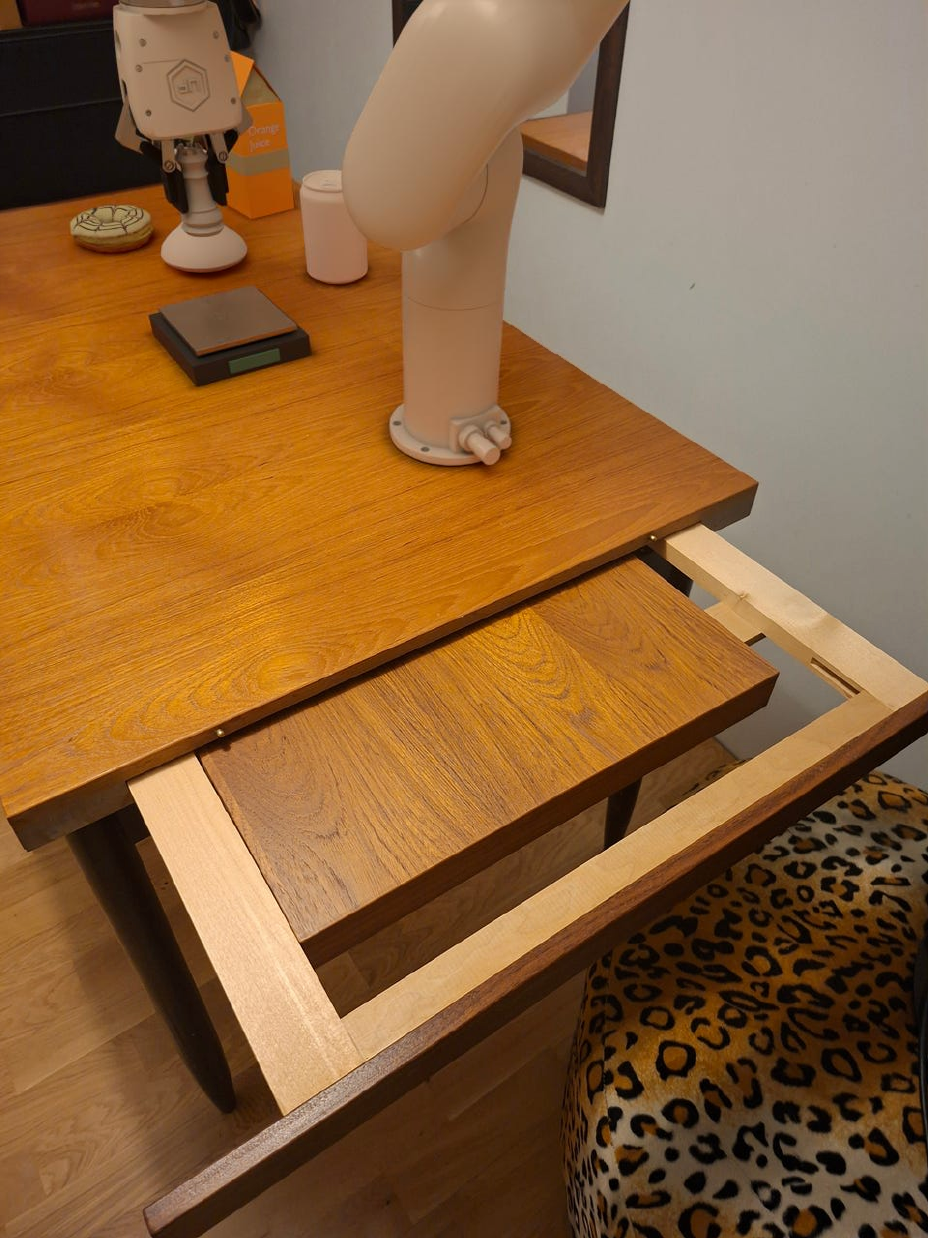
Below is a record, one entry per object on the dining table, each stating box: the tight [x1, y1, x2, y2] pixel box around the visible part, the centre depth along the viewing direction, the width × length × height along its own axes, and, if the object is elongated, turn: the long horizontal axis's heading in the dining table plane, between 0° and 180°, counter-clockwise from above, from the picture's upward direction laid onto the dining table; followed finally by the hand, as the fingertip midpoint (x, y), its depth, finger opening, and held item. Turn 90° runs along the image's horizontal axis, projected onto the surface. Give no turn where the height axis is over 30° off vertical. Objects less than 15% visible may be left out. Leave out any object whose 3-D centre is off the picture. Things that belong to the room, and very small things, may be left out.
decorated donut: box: [69, 204, 154, 253], centre depth 121 cm, size 10×11×4 cm
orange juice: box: [225, 49, 295, 220], centre depth 126 cm, size 8×9×20 cm
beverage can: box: [299, 169, 369, 285], centre depth 113 cm, size 8×8×12 cm
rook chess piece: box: [175, 141, 226, 237], centre depth 88 cm, size 4×4×8 cm
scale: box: [148, 288, 312, 387], centre depth 102 cm, size 14×14×2 cm
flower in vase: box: [160, 136, 248, 273], centre depth 110 cm, size 13×11×25 cm
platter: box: [157, 285, 297, 356], centre depth 100 cm, size 12×12×1 cm
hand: (199, 203), depth 89 cm, fingers closed on rook chess piece, 3 cm apart
